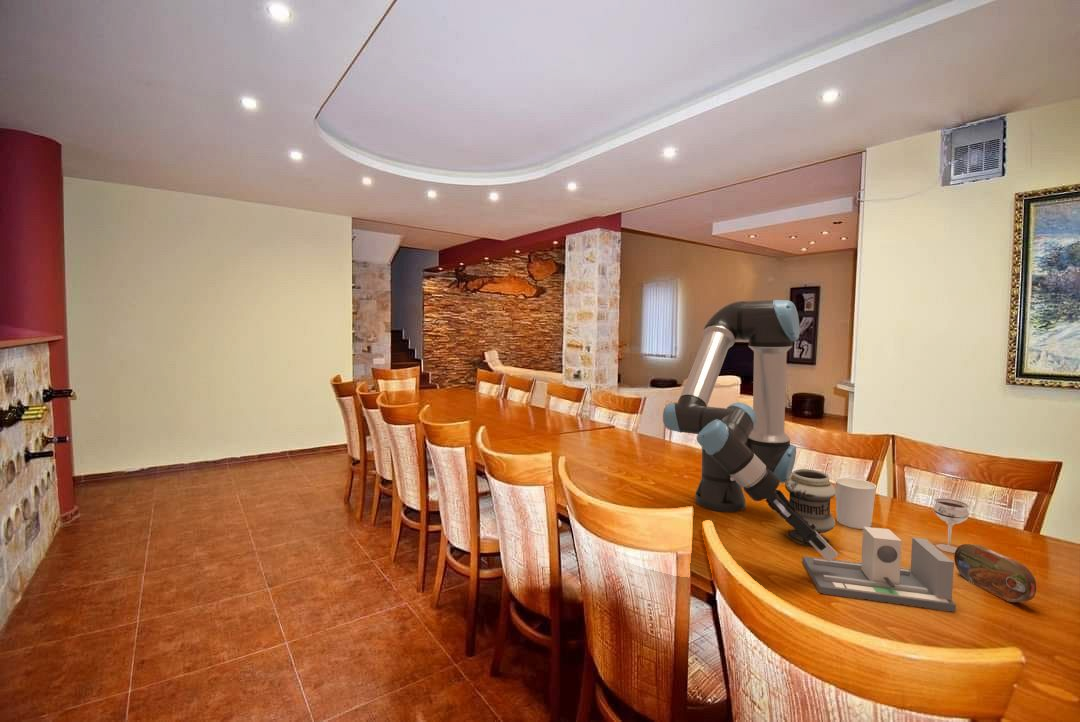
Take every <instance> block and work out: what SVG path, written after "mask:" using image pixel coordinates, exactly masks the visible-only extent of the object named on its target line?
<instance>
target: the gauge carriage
mask: <svg viewBox="0 0 1080 722" xmlns="http://www.w3.org/2000/svg"><path fill="white" fill-rule="evenodd" d="M861 540H862V543H861V544H862V545H861V562H860V563H861V570H862V571H863V573H864V574H865V575H866V576H867V578H868V579H869V580H870V581H876V582H884V583H888V584H889V585H890V586H891V587H895V586H894V584H899V580H900V568H901V561H902V559H901V558H902V544H903V543H902V540H901V539H900V538H899V537H898V536H897V535H896V534H895V533H894V532H893V531H892V530H891V529H889V528H882V527H881V528H880V527H872V526H871V527H863V529H862V539H861Z"/></svg>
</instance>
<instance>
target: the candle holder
mask: <svg viewBox="0 0 1080 722" xmlns="http://www.w3.org/2000/svg"><path fill="white" fill-rule="evenodd" d="M835 489H836V494H835V505H836V506H835V509H836V512H835V513H836V520H837V523H839V524H840V525H842V526H845V527H848V528H851V529H856V530H857V529H858V530H863V527H872V523H873V522H872V521H873V513H874V506H875V498H876V497H875V496H876V492H877V490H876V489H877V485H876V484H875V483H873V482H871V481H868V480H864V479H860V478H856V477H854V478H853V477H838V478H835Z"/></svg>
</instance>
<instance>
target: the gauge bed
mask: <svg viewBox="0 0 1080 722" xmlns="http://www.w3.org/2000/svg"><path fill="white" fill-rule="evenodd" d="M910 556H911V557H910V568H903V567H900V580H899V584H894V586H895V587H891V586H890V585H889V584H888V583H884V582H876V581H870V580H869V579H868V578H867V576H866V575H865V574H864V573H863V571H862V570H861V562H854V561H847V560H846V561H845V560H838V559H833V560H831V561H830V562H828V561H827V560H826V559H825V558H823V557H822V558H820V557H813V556H804V555H802V558H801V559H802V564H803V566H804V567H805V570H806V572H807V573H808V574H809V576H810V578H812V579H811V580H812V582H813V584H814V585H816V586H815V588H816V589H817V591H818V593H819V592H820V593H823V594H822V595H827V594H829V595H830V596H834V595H836V597H842V596H843V597H844V598H849V597H852V598H851V599H856V598H860V599H859V600H863V599H868V600H867V601H871V600H873V601H872V602H878V601H880V602H879V603H885V602H888V603H887V604H892V603H897V604H896V605H900V604H905V605H904V606H907V605H913V606H912V607H914V606H919V607H918V608H921V607H926V608H925V609H929V608H931V609H930V610H936V609H937V610H938V611H945V612H950V611H952V612H953V613H956V612H957V610H956V608H957V604H956V603H955V602H954V601H952V600H953V599H952V598H953V587H954V585H953V584H954V567H955V561H953V560H952V559H950V557H948V556H947V555H946V554H945V553H943V552H942V551H941V549H939V548H937V547H936V545H934V544H933V543H931V542H930V541H929V540H928V539H926V538H922V537H921V538H920V537H912V539H911V555H910ZM820 593H819V594H820ZM829 595H828V596H829Z"/></svg>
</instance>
